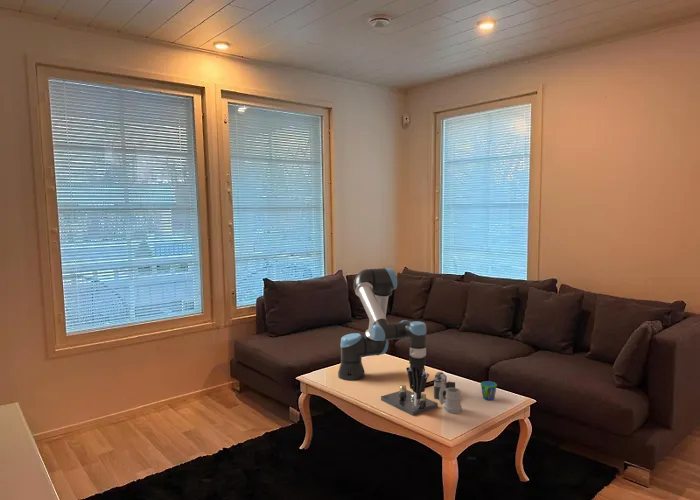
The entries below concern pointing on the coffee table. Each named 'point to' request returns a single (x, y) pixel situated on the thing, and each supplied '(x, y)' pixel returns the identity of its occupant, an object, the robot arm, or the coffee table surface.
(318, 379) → the coffee table surface
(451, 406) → the mug
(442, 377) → the camera
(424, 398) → the knob right
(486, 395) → the snack cup
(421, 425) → the coffee table surface
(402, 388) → the knob left
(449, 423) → the coffee table surface
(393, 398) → the control panel
